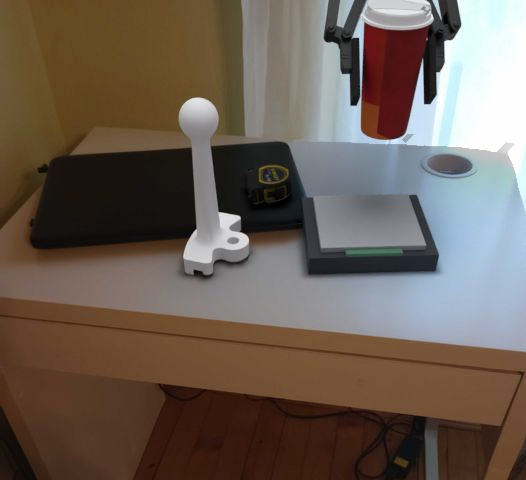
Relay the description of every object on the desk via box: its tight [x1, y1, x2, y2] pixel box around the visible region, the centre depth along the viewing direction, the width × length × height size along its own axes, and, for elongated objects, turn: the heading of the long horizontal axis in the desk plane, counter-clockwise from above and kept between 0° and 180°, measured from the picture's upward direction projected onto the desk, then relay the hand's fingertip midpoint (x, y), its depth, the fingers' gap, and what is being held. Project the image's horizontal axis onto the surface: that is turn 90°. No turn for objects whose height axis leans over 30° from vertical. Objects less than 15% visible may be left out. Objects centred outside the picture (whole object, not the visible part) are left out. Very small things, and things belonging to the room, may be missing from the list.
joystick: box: [178, 97, 250, 276], centre depth 75 cm, size 11×8×20 cm
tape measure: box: [242, 163, 294, 206], centre depth 91 cm, size 7×7×4 cm
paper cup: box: [360, 0, 434, 141], centre depth 72 cm, size 8×8×14 cm
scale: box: [300, 193, 440, 275], centre depth 83 cm, size 16×14×3 cm
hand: (392, 100), depth 71 cm, fingers closed on paper cup, 8 cm apart
